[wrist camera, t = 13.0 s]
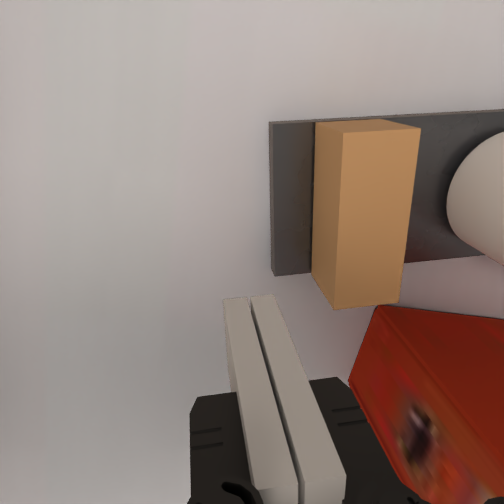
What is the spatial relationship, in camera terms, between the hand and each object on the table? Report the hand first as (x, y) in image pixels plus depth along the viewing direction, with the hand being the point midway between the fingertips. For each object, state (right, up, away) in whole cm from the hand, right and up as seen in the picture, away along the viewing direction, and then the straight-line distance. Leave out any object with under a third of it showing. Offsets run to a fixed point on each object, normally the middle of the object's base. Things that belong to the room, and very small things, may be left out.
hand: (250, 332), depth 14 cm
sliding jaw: (+6, +6, +13) cm, 15 cm away
